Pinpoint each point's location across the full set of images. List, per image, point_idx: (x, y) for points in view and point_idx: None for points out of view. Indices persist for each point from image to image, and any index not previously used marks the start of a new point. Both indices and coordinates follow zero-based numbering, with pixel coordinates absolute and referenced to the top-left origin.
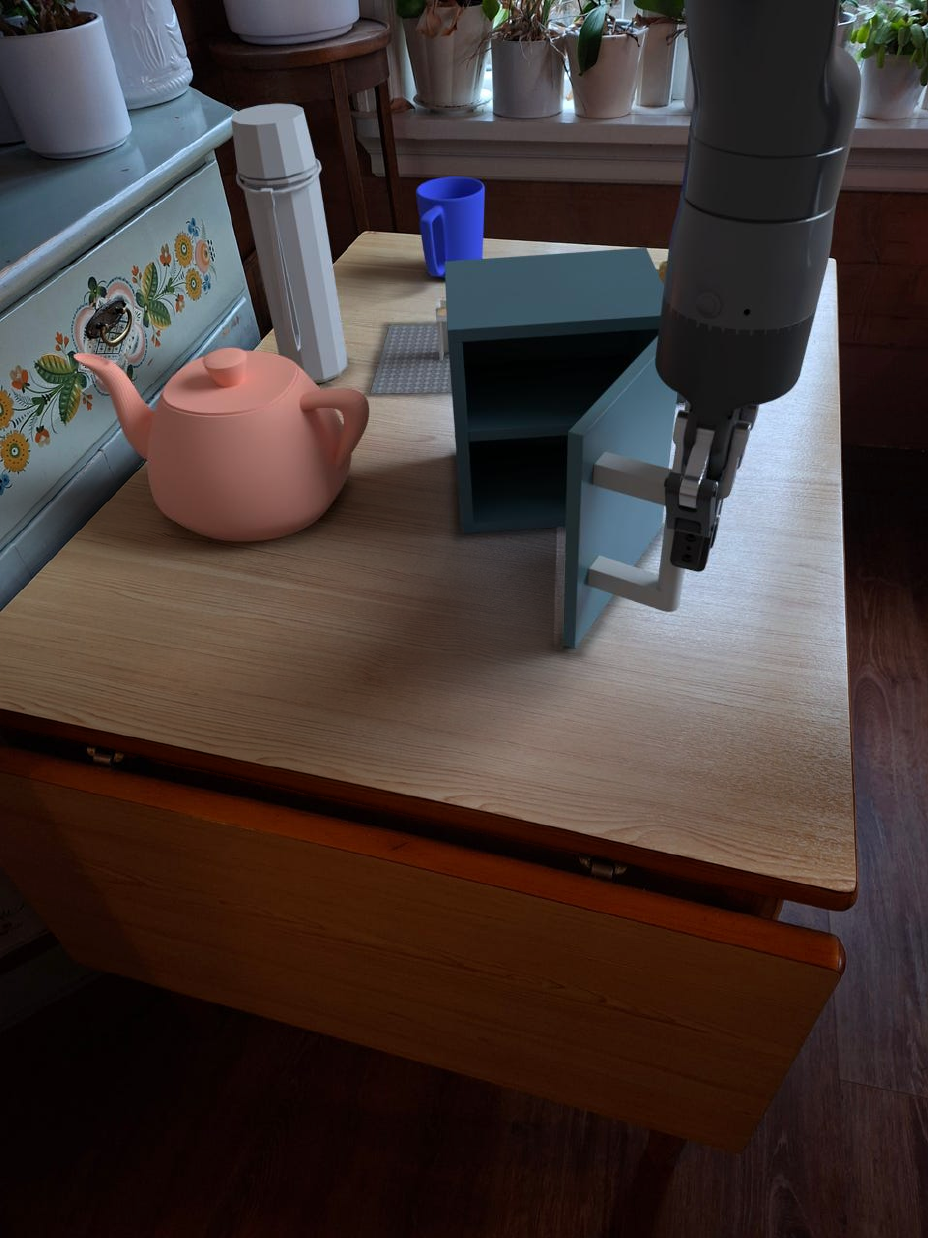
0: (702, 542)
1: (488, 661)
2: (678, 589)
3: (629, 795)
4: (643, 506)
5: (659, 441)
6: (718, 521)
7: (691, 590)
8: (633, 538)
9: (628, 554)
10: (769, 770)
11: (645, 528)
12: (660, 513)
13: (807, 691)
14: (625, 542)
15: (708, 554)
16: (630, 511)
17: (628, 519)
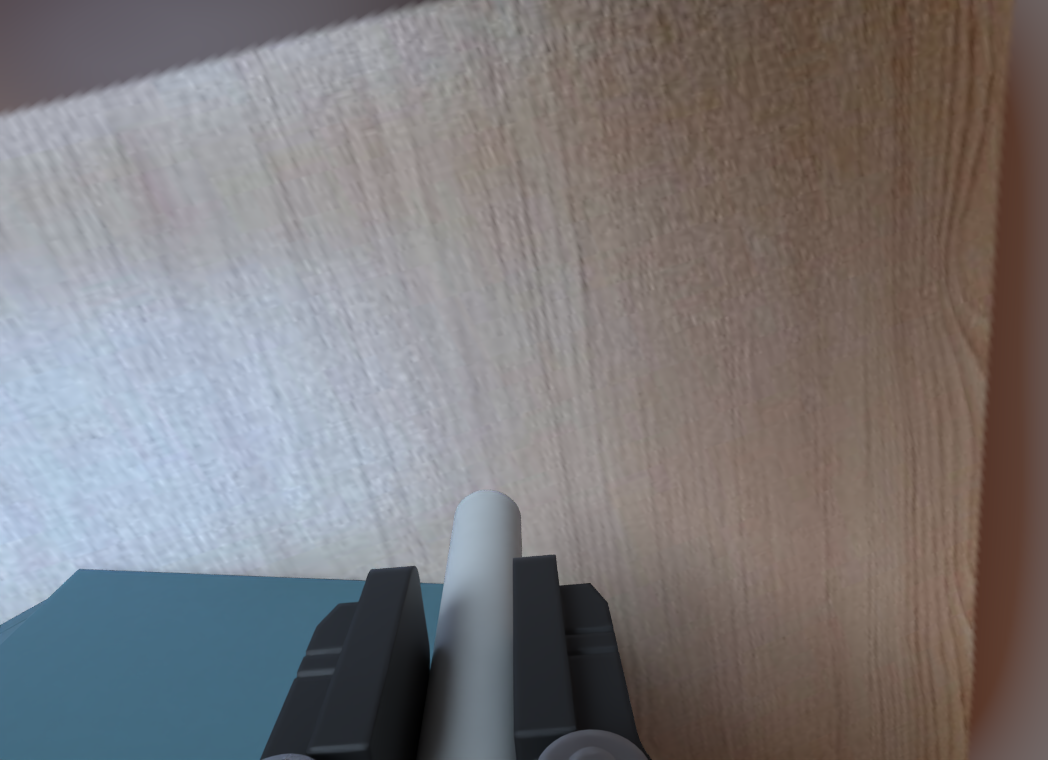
0: (600, 682)
1: (649, 699)
2: (504, 538)
3: (890, 365)
4: (139, 700)
5: None
6: (599, 755)
7: (252, 440)
8: (231, 646)
9: (269, 623)
10: (738, 112)
11: (157, 625)
12: (64, 607)
13: (454, 86)
14: (277, 667)
15: (530, 589)
16: (222, 747)
17: (240, 727)
